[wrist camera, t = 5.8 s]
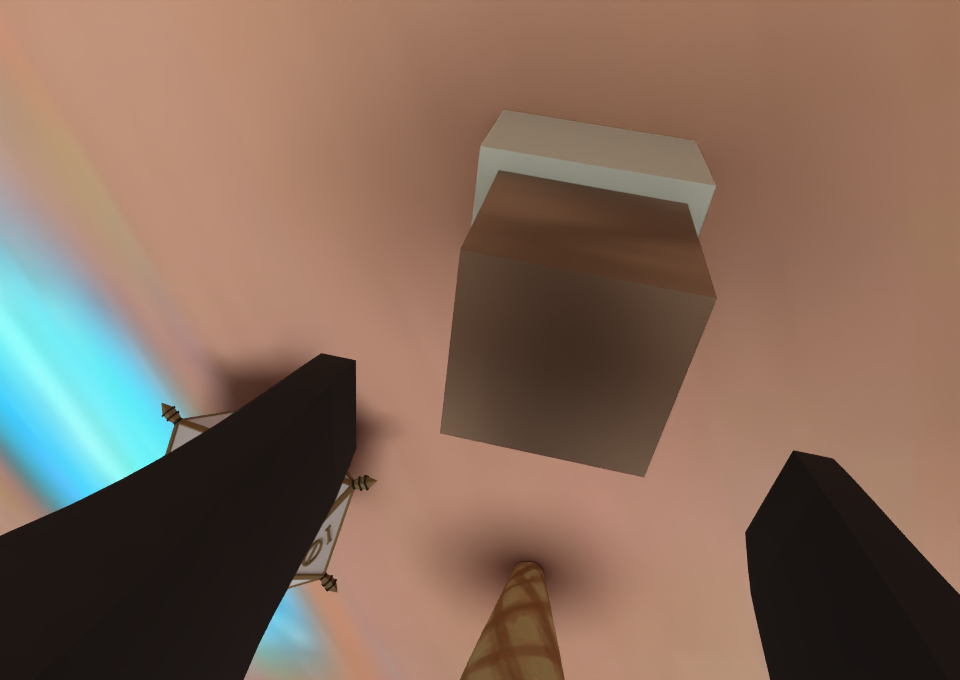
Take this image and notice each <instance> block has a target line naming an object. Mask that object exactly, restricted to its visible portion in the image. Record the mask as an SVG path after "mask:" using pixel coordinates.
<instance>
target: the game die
mask: <svg viewBox="0 0 960 680" xmlns="http://www.w3.org/2000/svg"><path fill="white" fill-rule="evenodd" d="M161 404H162V413H163V415H162V417H163V416H164V417H165V418H166V419H167V420H166V421H170V422H172V423H173V424H174V428H173V431H172V435H171V438H170V441H169V444H168V448H167V451H166V454H165V455H167V454H168V453H170V452H172V451H173V450H175V449H176V448H178V447H180V446H181V445H183V444H185V443H186V442H188V441H190V440H191V439H193V438H195V437H196V436H198V435H200V434H201V433H203V432H205V431H206V430H208V429H210V428H211V427H213V426H214V425H216V424H217V423H219V422H220V421H222V420H223V419H225V418H227V417H228V416H230V415H231V414H233V413H234V412H236V411H237V410H235V411H228V412H222V413H216V414H209V415H203V416H197V417H190V418H184V419H183V418H181V417H180V415H179V413H180V412H179V411H176V409H175V406H173V407H172V406H169V405H166V404H163V403H161ZM376 481H377V480H374V479H372V478H369V476H367V475H364V477H360V476H359V477H358V479H356V480H354V479H353V478H352V477H351V475H350V474H349V472H348V471H347V473H346V476H345V478H344V481H343V483H342V486H341V488H340V491H339V493H338V496H337V498H336V500H335V502H334V504H333V506H332V508H331V510H330V512H329V514H328V515H327V517H326V519H325V521H324V523H323V525H322V527H321V529H320V530H319V532H318V534H317V536H316V538H315V540H314V542H313V543H312V545H311V547H310V549H309V551H308V553H307V554H306V556H305V558H304V560H303V562H302V564H301V565H300V567H299V569H298V571H297V573H296V575H295V576H294V578H293V580H292V582H291V584H290V586H289V587H288V589H289V588H292V587H296V586H299V585H302V584H306V583H309V582H313V581H316V580H321V582H322V586H323V587H324V586H325V589H326V591H333V592H337V584H336V581H337V579H334V578H333V575H331V576H330V575H328V574H327V573H326V570H327V567H328V564H329V562H330V559H331V556H332V553H333V550H334V547H335V544H336V541H337V538H338V535H339V532H340V530H341V527H342V524H343V521H344V518H345V515H346V512H347V509H348V506H349V503H350V500H351V498H352V495H353V492H354V489H360V491H362V490H363V489H366V490H368V489H369V487H371V486H372V485H373V484H374V483H375V482H376Z"/></svg>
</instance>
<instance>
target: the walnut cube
mask: <svg viewBox="0 0 960 680" xmlns="http://www.w3.org/2000/svg"><path fill="white" fill-rule="evenodd" d="M716 299H717V297H716V294H715V291H714V288H713V284H712V281H711V278H710V275H709V271H708V268H707V265H706V262H705V258H704V255H703V252H702V249H701V246H700V242H699V239H698V236H697V233H696V229H695V226H694V223H693V220H692V216H691V213H690V210H689V207H688V204H686V203H680V202H675V201H669V200H664V199H658V198H652V197H647V196H641V195H636V194H630V193H624V192H619V191H613V190H608V189H602V188H596V187H591V186H585V185H580V184H574V183H568V182H563V181H557V180H552V179H546V178H540V177H535V176H529V175H524V174H518V173H512V172H507V171H501V170H498V172H497V175H496V177H495V179H494V181H493V183H492V185H491V187H490V189H489V191H488V193H487V195H486V197H485V200H484V202H483V204H482V206H481V208H480V210H479V212H478V214H477V216H476V218H475V220H474V222H473V224H472V227H471V229H470V231H469V233H468V235H467V237H466V239H465V241H464V243H463V245H462V247H461V249H460V258H459V267H458V276H457V285H456V294H455V303H454V312H453V321H452V330H451V339H450V348H449V357H448V366H447V375H446V384H445V393H444V402H443V411H442V420H441V429H440V433H441V434H446V435H450V436H455V437H459V438H464V439H469V440H473V441H478V442H483V443H487V444H492V445H497V446H501V447H506V448H510V449H515V450H520V451H524V452H529V453H534V454H538V455H543V456H547V457H552V458H557V459H561V460H566V461H571V462H575V463H580V464H585V465H589V466H594V467H598V468H603V469H608V470H612V471H617V472H622V473H626V474H631V475H636V476H640V477H644V476H645V474H646V471H647V469H648V466H649V464H650V461H651V459H652V456H653V454H654V452H655V449H656V447H657V444H658V442H659V439H660V437H661V434H662V432H663V429H664V427H665V424H666V422H667V420H668V417H669V415H670V412H671V410H672V407H673V405H674V402H675V400H676V397H677V395H678V393H679V390H680V388H681V385H682V383H683V380H684V378H685V375H686V373H687V370H688V368H689V365H690V363H691V361H692V358H693V356H694V353H695V351H696V348H697V346H698V343H699V341H700V338H701V336H702V333H703V331H704V329H705V326H706V324H707V321H708V319H709V316H710V314H711V311H712V309H713V306H714V304H715V301H716Z"/></svg>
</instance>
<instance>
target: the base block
mask: <svg viewBox="0 0 960 680" xmlns="http://www.w3.org/2000/svg"><path fill="white" fill-rule="evenodd" d="M498 170H501V171H507V172H512V173H518V174H524V175H529V176H535V177H540V178H546V179H552V180H557V181H563V182H568V183H574V184H580V185H585V186H591V187H596V188H602V189H608V190H613V191H619V192H624V193H630V194H636V195H641V196H647V197H652V198H658V199H664V200H669V201H675V202H680V203H686V204H688V207H689V210H690V213H691V216H692V220H693V223H694V226H695V229H696V233H697V236H699V234H700V231H701V228H702V225H703V222H704V219H705V216H706V214H707V211H708V208H709V205H710V202H711V199H712V197H713V194H714V191H715V188H716V184H715V182H714V180H713V178H712V175H711V173H710V171H709V169H708V167H707V164H706V162H705V160H704V158H703V156H702V154H701V151H700V149H699V147H698V145H697V143H696V141H694V140H688V139H682V138H676V137H670V136H664V135H657V134H651V133H645V132H639V131H633V130H627V129H621V128H614V127H608V126H602V125H596V124H590V123H584V122H578V121H571V120H565V119H559V118H553V117H547V116H541V115H535V114H528V113H522V112H516V111H510V110H504V109H503V111H502V113H501V114H500V116H499V117H498V119H497V120H496V122H495V124H494V125H493V127H492V128H491V130H490V131H489V133H488V135H487V136H486V138H485V139H484V141H483V142H482V144H481V146H480V153H479V161H478V170H477V179H476V188H475V197H474V206H473V215H472V224H473V222H474V220H475V218H476V216H477V214H478V212H479V210H480V208H481V206H482V204H483V202H484V200H485V197H486V195H487V193H488V191H489V189H490V187H491V185H492V183H493V181H494V179H495V177H496V175H497V172H498ZM472 224H471V227H472Z"/></svg>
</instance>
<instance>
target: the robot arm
mask: <svg viewBox="0 0 960 680" xmlns="http://www.w3.org/2000/svg"><path fill="white" fill-rule="evenodd" d="M355 450H356V360H352V359H347V358H342V357H337V356H332V355H327V354H322V353H321V354H320V355H318V356H317V357H315V358H314V359H312V360H311V361H309V362H307V363H306V364H304V365H303V366H302V367H300V368H299V369H297V370H296V371H294V372H293V373H291V374H290V375H289V376H287V377H286V378H284V379H283V380H281V381H280V382H278V383H277V384H276V385H274V386H273V387H271V388H270V389H268V390H267V391H265V392H264V393H262V394H261V395H260V396H258V397H257V398H255V399H254V400H252V401H251V402H249V403H248V404H246V405H245V406H243V407H242V408H240V409H239V410H237V411H236V412H234V413H233V414H231V415H230V416H228V417H227V418H225V419H223V420H222V421H220V422H219V423H217V424H216V425H214V426H213V427H211V428H210V429H208V430H206V431H205V432H203V433H201V434H200V435H198V436H196V437H195V438H193V439H191V440H190V441H188V442H186V443H185V444H183V445H181V446H180V447H178V448H176V449H175V450H173V451H172V452H170V453H168V454H167V455H165V456H163V457H162V458H160V459H158V460H156V461H154V462H153V463H151V464H149V465H147V466H146V467H144V468H142V469H140V470H138V471H136V472H134V473H133V474H131V475H129V476H127V477H125V478H123V479H121V480H119V481H117V482H115V483H113V484H111V485H109V486H107V487H105V488H103V489H101V490H99V491H97V492H95V493H93V494H91V495H89V496H87V497H85V498H83V499H81V500H79V501H77V502H75V503H73V504H71V505H69V506H67V507H64V508H62V509H60V510H58V511H55V512H53V513H51V514H49V515H46V516H44V517H42V518H39V519H37V520H35V521H33V522H30V523H28V524H26V525H24V526H21V527H19V528H17V529H14V530H12V531H10V532H8V533H5V534H3V535H1V536H0V680H244V678H245V675H246V673H247V671H248V668H249V666H250V664H251V661H252V659H253V657H254V654H255V652H256V650H257V647H258V645H259V643H260V641H261V639H262V637H263V635H264V633H265V631H266V629H267V627H268V625H269V623H270V621H271V619H272V617H273V615H274V613H275V611H276V609H277V608H278V606H279V604H280V602H281V600H282V598H283V597H284V595H285V593H286V591H287V589H288V587H289V586H290V584H291V582H292V580H293V578H294V576H295V575H296V573H297V571H298V569H299V567H300V565H301V564H302V562H303V560H304V558H305V556H306V554H307V553H308V551H309V549H310V547H311V545H312V543H313V542H314V540H315V538H316V536H317V534H318V532H319V530H320V529H321V527H322V525H323V523H324V521H325V519H326V517H327V515H328V514H329V512H330V510H331V508H332V506H333V504H334V502H335V500H336V498H337V496H338V493H339V491H340V488H341V486H342V483H343V481H344V478H345V476H346V473H347V471H348V468H349V465H350V463H351V460H352V458H353V455H354V452H355ZM745 535H746V549H747V562H748V572H749V581H750V591H751V597H752V601H753V606H754V611H755V615H756V620H757V624H758V629H759V633H760V638H761V642H762V646H763V651H764V655H765V659H766V664H767V668H768V672H769V676H770V680H960V594H959V593H958V592H957V591H956V590H955V589H954V588H953V587H952V586H951V585H950V584H949V583H948V582H947V581H946V580H945V579H944V578H943V576H942V575H941V574H940V573H939V572H938V571H937V570H936V569H935V568H934V567H933V566H932V565H931V564H930V563H929V561H928V560H927V559H926V558H925V557H924V556H923V555H922V554H921V553H920V552H919V551H918V550H917V548H916V547H915V546H914V545H913V544H912V543H911V542H910V541H909V540H908V539H907V537H906V536H905V535H904V534H903V533H902V532H901V531H900V530H899V529H898V528H897V526H896V525H895V524H894V523H893V522H892V521H891V520H890V519H889V518H888V517H887V515H886V514H885V513H884V512H883V511H882V510H881V509H880V508H879V507H878V505H877V504H876V503H875V502H874V501H873V500H872V499H871V498H870V497H869V496H868V495H867V493H866V492H865V491H864V490H863V489H862V488H861V487H860V486H859V485H858V484H857V483H856V481H855V480H854V479H853V478H852V477H851V476H850V475H849V474H848V473H847V472H846V471H845V470H844V469H843V468H842V467H841V466H840V465H839V464H838V463H837V462H836V461H835V460H834V459H833V458H828V457H823V456H818V455H814V454H809V453H804V452H799V451H794V450H793V452H792V453H791V455H790V457H789V459H788V460H787V462H786V464H785V465H784V467H783V469H782V471H781V472H780V474H779V476H778V477H777V479H776V481H775V482H774V484H773V486H772V488H771V489H770V491H769V493H768V494H767V496H766V498H765V500H764V501H763V503H762V505H761V506H760V508H759V510H758V512H757V513H756V515H755V517H754V518H753V520H752V522H751V523H750V525H749V527H748V529H747V530H746V532H745Z"/></svg>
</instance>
